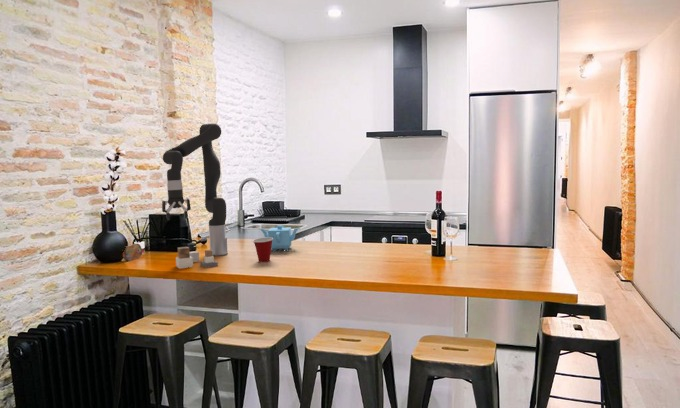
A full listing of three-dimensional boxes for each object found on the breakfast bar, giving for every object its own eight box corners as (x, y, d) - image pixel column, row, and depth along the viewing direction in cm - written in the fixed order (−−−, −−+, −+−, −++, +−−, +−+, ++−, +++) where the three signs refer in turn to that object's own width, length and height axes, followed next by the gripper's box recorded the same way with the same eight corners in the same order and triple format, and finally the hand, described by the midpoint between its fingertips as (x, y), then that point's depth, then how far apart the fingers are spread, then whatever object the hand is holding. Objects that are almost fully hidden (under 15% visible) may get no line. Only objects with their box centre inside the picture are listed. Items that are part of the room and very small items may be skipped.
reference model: (214, 263, 268) (213, 248, 268) (217, 266, 262) (217, 250, 262) (200, 265, 265) (200, 250, 264) (204, 267, 259) (203, 252, 258)
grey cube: (197, 260, 281) (196, 251, 280) (199, 261, 276) (198, 252, 276) (187, 261, 278) (187, 252, 278) (189, 262, 274) (189, 253, 274)
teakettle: (277, 253, 293) (276, 228, 292) (258, 250, 306) (257, 225, 305) (302, 249, 306) (301, 224, 305) (283, 246, 320) (282, 222, 318)
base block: (189, 265, 268) (189, 255, 267) (193, 267, 262) (192, 257, 261) (176, 266, 264) (175, 257, 264) (179, 269, 258) (178, 259, 258)
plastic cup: (250, 260, 274) (249, 238, 273) (267, 258, 280) (266, 236, 279) (259, 263, 265) (258, 241, 264) (277, 260, 271) (276, 238, 270)
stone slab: (126, 262, 280) (125, 247, 279) (121, 262, 281) (120, 246, 280) (142, 256, 295) (141, 242, 294) (137, 256, 295) (136, 242, 295)
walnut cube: (187, 256, 266) (187, 246, 266) (189, 257, 262) (189, 247, 261) (178, 257, 264) (177, 247, 263) (179, 258, 259) (179, 249, 259)
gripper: (187, 187, 275) (189, 217, 277) (159, 189, 268) (161, 220, 270) (190, 188, 269) (192, 218, 270) (162, 190, 262) (164, 221, 263)
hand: (177, 219), depth 270 cm, fingers open, 8 cm apart
